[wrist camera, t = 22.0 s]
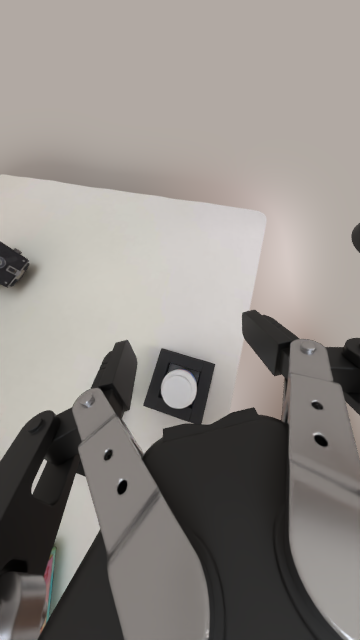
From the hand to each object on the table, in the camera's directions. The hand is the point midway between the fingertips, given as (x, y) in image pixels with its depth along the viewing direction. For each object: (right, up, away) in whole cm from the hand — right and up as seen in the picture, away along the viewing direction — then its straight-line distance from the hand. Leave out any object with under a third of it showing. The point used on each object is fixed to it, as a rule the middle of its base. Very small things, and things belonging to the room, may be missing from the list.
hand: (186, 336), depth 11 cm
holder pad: (0, -11, +19) cm, 22 cm away
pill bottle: (0, -11, +19) cm, 22 cm away
